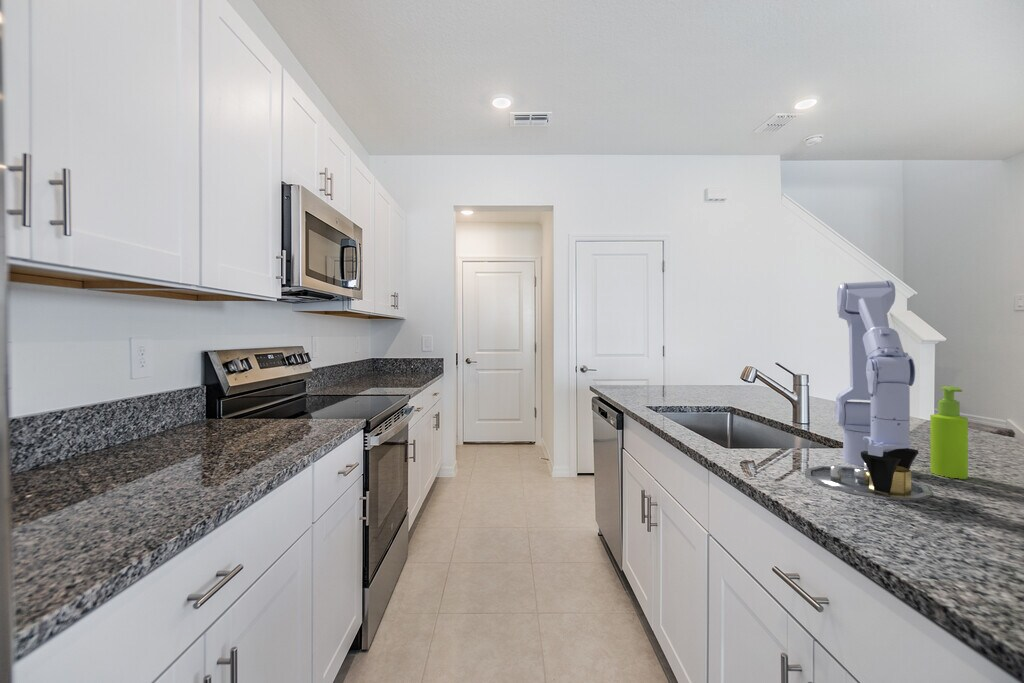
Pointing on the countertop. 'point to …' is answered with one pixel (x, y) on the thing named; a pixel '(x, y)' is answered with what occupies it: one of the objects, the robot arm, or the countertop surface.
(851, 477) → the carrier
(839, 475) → the pin
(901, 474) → the gear
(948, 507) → the countertop surface
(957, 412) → the soap dispenser
